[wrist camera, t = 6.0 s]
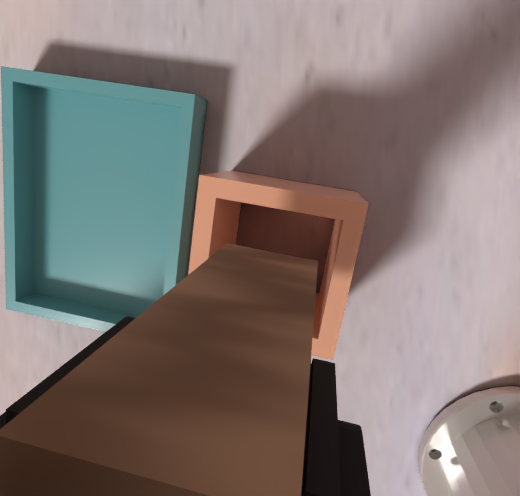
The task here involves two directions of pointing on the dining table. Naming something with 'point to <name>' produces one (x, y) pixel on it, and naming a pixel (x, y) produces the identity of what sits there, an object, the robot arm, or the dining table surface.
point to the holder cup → (292, 199)
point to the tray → (96, 195)
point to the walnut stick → (182, 393)
